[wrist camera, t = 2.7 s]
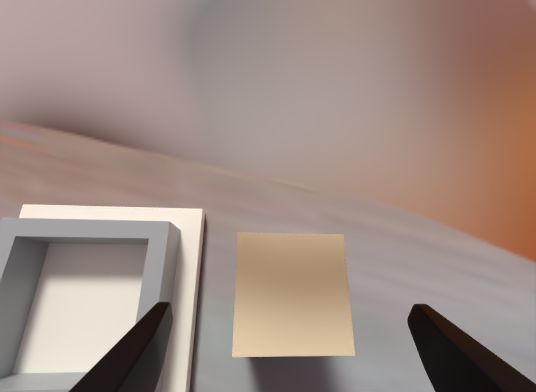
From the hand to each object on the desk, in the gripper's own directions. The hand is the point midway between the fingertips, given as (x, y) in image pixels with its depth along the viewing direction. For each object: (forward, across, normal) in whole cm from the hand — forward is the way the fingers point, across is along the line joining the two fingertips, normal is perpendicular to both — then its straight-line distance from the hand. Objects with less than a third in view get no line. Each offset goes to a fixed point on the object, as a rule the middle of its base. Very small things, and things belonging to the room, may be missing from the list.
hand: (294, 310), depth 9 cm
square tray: (+6, +11, +6) cm, 14 cm away
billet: (+6, 0, +5) cm, 8 cm away
